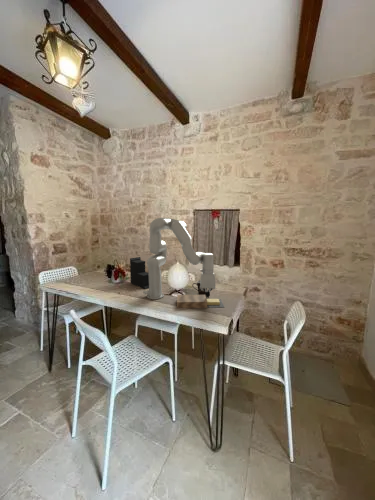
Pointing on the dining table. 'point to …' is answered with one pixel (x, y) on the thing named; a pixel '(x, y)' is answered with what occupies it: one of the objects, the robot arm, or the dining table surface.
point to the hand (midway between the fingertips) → (207, 297)
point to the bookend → (139, 273)
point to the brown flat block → (191, 301)
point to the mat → (216, 305)
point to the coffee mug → (200, 291)
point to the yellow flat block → (213, 302)
